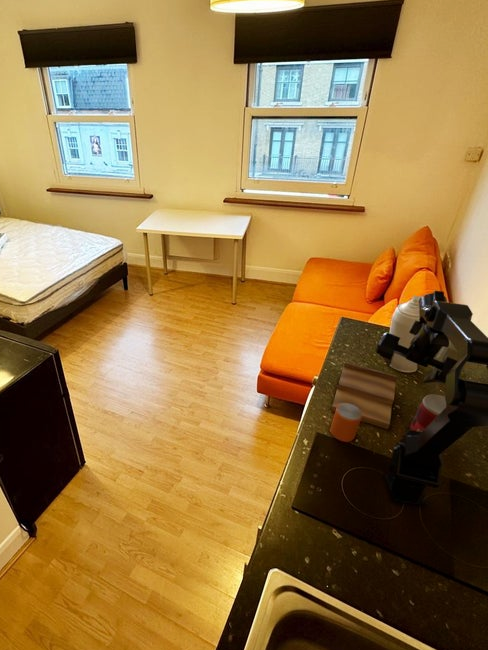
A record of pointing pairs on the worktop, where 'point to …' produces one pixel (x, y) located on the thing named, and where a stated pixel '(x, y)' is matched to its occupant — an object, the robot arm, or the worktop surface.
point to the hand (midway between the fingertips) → (406, 373)
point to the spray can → (404, 332)
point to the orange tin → (346, 422)
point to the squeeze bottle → (448, 353)
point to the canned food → (428, 411)
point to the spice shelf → (366, 408)
